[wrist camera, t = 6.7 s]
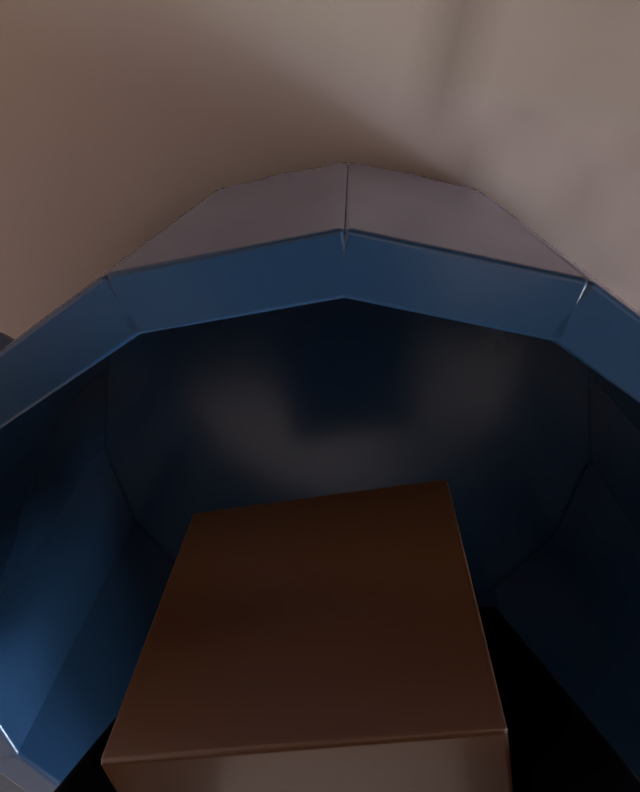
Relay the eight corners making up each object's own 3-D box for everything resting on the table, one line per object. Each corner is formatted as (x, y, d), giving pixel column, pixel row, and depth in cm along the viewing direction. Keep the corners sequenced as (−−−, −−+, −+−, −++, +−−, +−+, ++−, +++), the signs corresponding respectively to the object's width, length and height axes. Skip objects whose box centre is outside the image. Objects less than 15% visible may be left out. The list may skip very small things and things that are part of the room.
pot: (464, 724, 19) (514, 1002, 13) (-97, 440, 15) (-376, 658, 9) (817, 447, 14) (1148, 700, 8) (112, -89, 10) (-214, -331, 4)
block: (470, 660, 11) (528, 944, 7) (253, 681, 11) (208, 955, 8) (446, 476, 9) (508, 731, 5) (192, 511, 10) (96, 763, 6)
